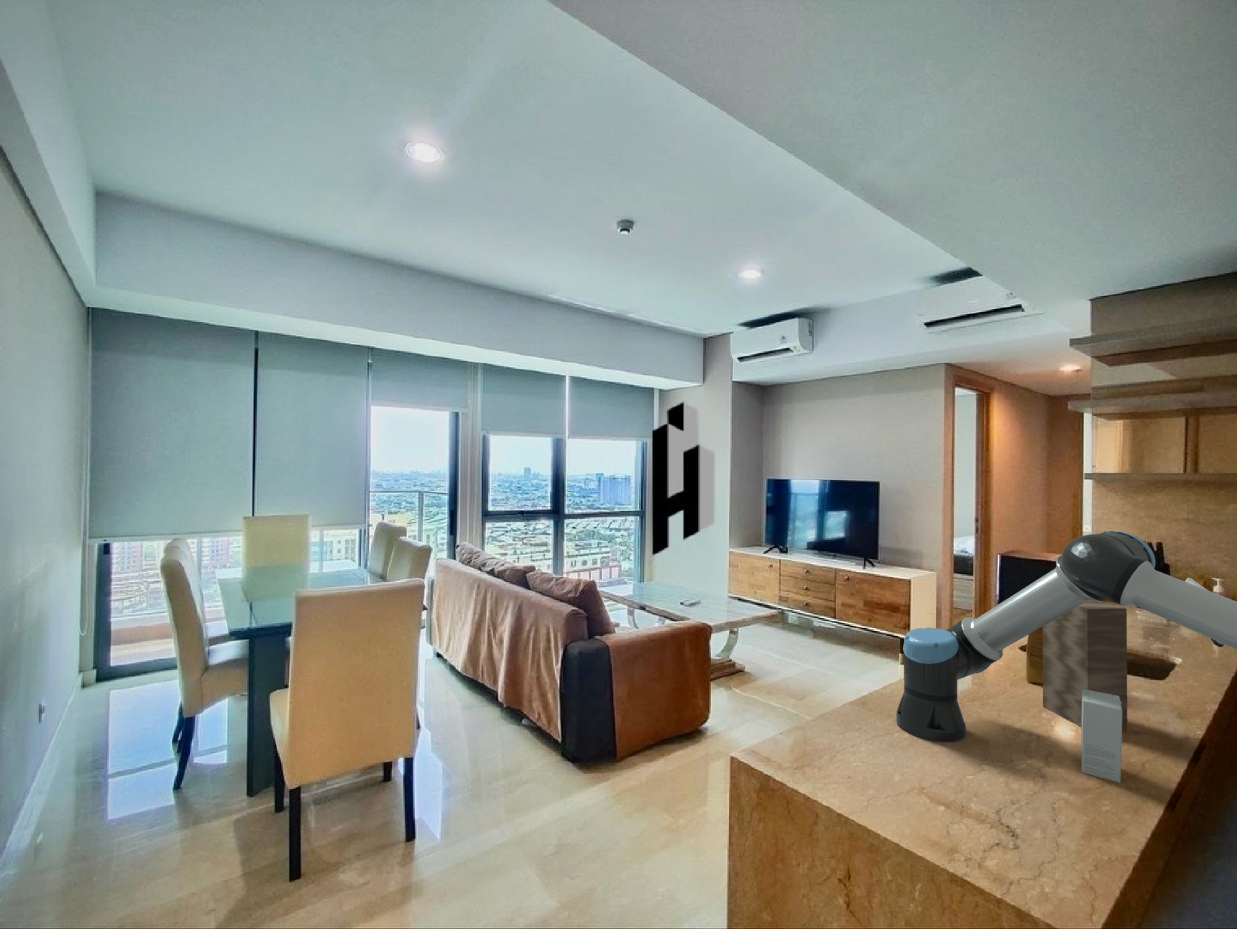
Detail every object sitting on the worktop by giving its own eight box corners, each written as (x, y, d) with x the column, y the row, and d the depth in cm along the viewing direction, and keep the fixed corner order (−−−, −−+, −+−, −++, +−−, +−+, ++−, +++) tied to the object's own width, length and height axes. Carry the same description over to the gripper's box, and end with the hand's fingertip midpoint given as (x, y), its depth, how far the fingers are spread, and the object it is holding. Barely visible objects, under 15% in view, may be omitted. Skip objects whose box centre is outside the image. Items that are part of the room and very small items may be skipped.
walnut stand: (1127, 730, 138) (1126, 608, 138) (1087, 730, 137) (1087, 608, 138) (1078, 706, 152) (1078, 595, 152) (1042, 706, 151) (1042, 595, 152)
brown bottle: (1072, 681, 170) (1072, 609, 170) (1061, 691, 162) (1061, 615, 162) (1032, 672, 177) (1032, 603, 178) (1020, 681, 170) (1020, 609, 170)
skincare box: (1081, 757, 124) (1080, 687, 125) (1120, 768, 120) (1120, 695, 120) (1081, 773, 118) (1080, 699, 118) (1123, 784, 114) (1123, 708, 114)
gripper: (1233, 683, 103) (1129, 595, 123) (1322, 683, 103) (1203, 595, 124) (1257, 655, 99) (1145, 569, 119) (1349, 654, 100) (1222, 569, 120)
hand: (1175, 582), depth 122 cm, fingers closed on steel bar, 4 cm apart
